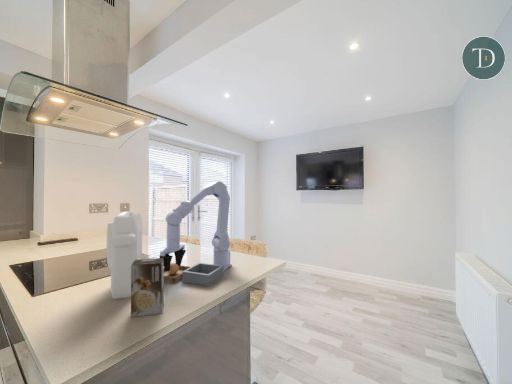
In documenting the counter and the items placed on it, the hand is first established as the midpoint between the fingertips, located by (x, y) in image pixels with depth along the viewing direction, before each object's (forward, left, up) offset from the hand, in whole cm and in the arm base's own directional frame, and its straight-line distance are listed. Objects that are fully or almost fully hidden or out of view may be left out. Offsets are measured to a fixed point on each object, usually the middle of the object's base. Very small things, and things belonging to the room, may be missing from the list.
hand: (172, 268), depth 104 cm
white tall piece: (+18, -9, -4) cm, 20 cm away
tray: (0, 0, -4) cm, 4 cm away
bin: (-2, +15, -4) cm, 16 cm away
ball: (0, 0, 0) cm, 0 cm away
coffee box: (+28, +13, -4) cm, 31 cm away
